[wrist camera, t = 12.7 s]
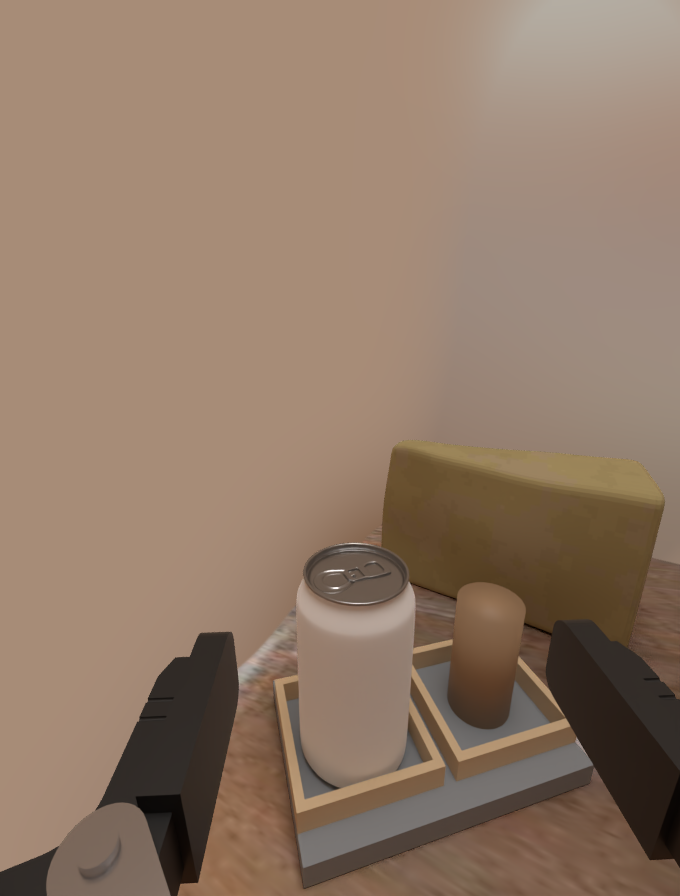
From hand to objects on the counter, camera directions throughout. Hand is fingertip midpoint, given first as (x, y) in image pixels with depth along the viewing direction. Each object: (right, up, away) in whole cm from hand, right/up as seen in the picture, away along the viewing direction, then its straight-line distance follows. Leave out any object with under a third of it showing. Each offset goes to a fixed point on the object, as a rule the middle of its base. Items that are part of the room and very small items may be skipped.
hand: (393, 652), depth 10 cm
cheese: (+13, -10, +31) cm, 35 cm away
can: (-1, -13, +15) cm, 20 cm away
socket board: (+4, -14, +17) cm, 22 cm away
